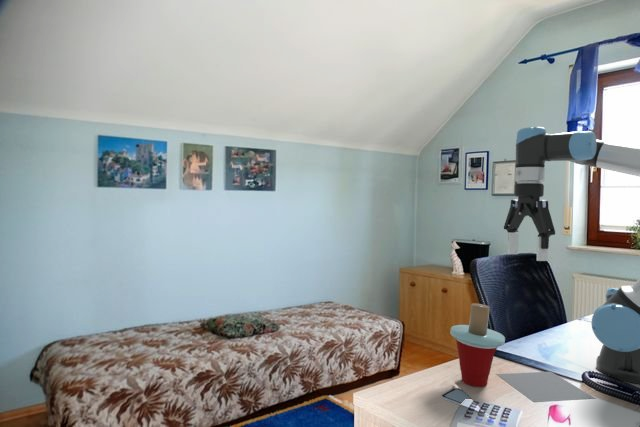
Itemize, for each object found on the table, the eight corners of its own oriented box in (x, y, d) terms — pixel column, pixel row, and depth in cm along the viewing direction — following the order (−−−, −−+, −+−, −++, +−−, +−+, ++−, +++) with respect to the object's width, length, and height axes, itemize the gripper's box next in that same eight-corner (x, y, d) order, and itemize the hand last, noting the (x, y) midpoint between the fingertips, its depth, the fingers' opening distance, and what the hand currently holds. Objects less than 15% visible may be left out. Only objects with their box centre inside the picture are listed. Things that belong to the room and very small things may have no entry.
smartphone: (455, 387, 110) (516, 407, 99) (455, 390, 110) (516, 411, 99) (439, 395, 105) (501, 418, 94) (439, 399, 105) (501, 422, 94)
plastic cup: (502, 395, 106) (503, 346, 106) (455, 391, 108) (456, 342, 108) (494, 377, 117) (495, 332, 116) (451, 373, 119) (452, 329, 118)
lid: (487, 330, 119) (490, 300, 119) (515, 347, 107) (519, 314, 106) (442, 328, 117) (445, 297, 117) (464, 345, 105) (468, 311, 104)
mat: (550, 373, 120) (550, 371, 120) (595, 400, 104) (595, 398, 104) (496, 376, 118) (496, 374, 118) (533, 404, 102) (533, 401, 102)
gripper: (493, 183, 137) (491, 251, 138) (545, 181, 112) (542, 263, 113) (515, 184, 138) (513, 251, 139) (572, 181, 114) (569, 263, 114)
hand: (526, 257), depth 126 cm, fingers open, 13 cm apart
